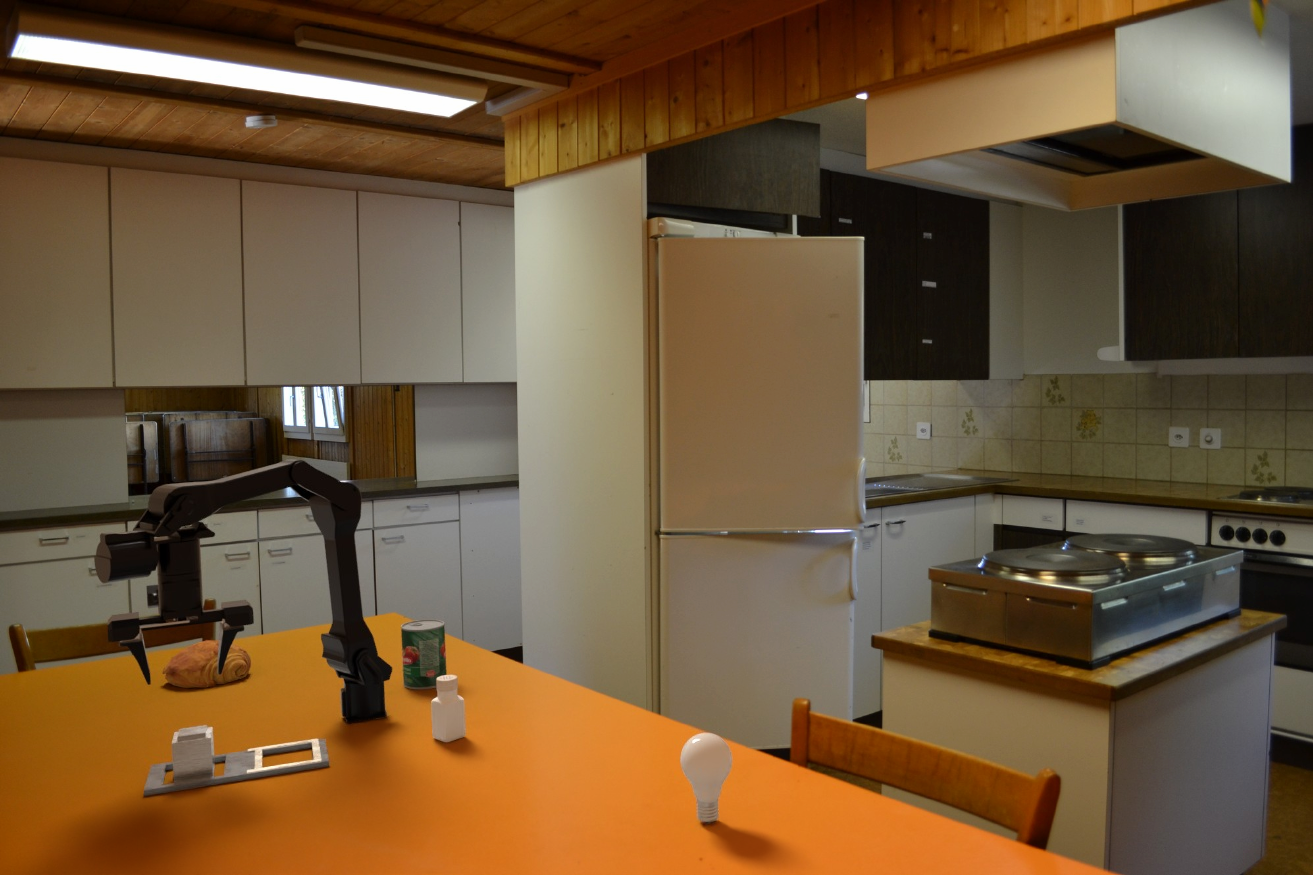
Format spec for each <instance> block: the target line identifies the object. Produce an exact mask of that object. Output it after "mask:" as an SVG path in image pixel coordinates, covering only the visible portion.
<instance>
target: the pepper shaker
mask: <svg viewBox="0 0 1313 875" xmlns="http://www.w3.org/2000/svg"><path fill="white" fill-rule="evenodd" d="M458 685H459V683H458V676H457V675H455V674H447V675H443V676H440V677H437V679H436V686H437V687H436V691H437V696H436V697H435V698H433V699H432V700H431V702H430V704H431V705H430V707H431V708H430V709H431V710H430V711H431V712H430V713H431V730H432V731H431V733H432V734H431V735H432V737H433V739H435V740H438V741H441V742H444V743H450V742H452V741H455V740H458V739H462V738H465V736H466V734H467V732H466V731H467V730H466V711H465V710H466V708H465V707H466V706H465V705H466V704H465V703H466V702H465V699H464V697H462V696H461V695H458V689H459V686H458Z"/></svg>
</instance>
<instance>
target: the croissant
mask: <svg viewBox="0 0 1313 875" xmlns="http://www.w3.org/2000/svg"><path fill="white" fill-rule="evenodd" d="M218 648H219V640H213V639H212V640H211V639H209V640H208V639H205V640H204V641H198V642H196V643H194V644H190V646H188V647H186V648H184V649H182V650H181V651H179V652H178V653H177V654H176V655H174V656H172V657H171V659H170V660H169V662H168V663H167V664H166V666H165V667H164V668H163V670H162V672H161V674H163V675H165V676H164V678H165V680H166V681H167V683H168V684H170V685H172V686H176V687H179V688H182V689H183V688H184V689H185V688H186V689H189V688H191V689H192V688H200V689H201V688H202V689H205V688H209V687H210V688H212V687H214V686H216V685H224V684H227V683H231V682H235V681H238V680H243V679H244V678H246V677H247V676H248V674H249V673H250V669H251V667H252V660H251V656H250V655H249V653H248V652H247V650H246V649H244V648H242V647H241V646H238V645H237V644H235V643H232V645H231V647H230V649H229V652H228V655H227V658H226V661H225V664H224V667H223V670H222V674H220V675H219V674H218V667H217V660H218Z"/></svg>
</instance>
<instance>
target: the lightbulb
mask: <svg viewBox="0 0 1313 875" xmlns="http://www.w3.org/2000/svg"><path fill="white" fill-rule="evenodd" d="M679 760H680V766H681V770H682V773H683V774H684V776H685V778H686V779H687V781H688V782H689V784H690V785H691V786H692V791H693V795H694V797H695V799H696V818H697V820H698V821H700V822H702V823H704V824H712V823H714V822H715V821H717V820H718V819H719V812H720V811H719V810H720V809H719V808H720V807H719V798H720V796H721V794H722V792H721V791H722V787H723V785H724V782H725V781H726V780H727V778H728V776H729V775H730V773H731V770H732V767H733V755H732V751H731V749H730V746H729V744H728V743H727V742H726V741H725V740H724V739H723V738H722V737H721V736H719V735H718V734H715V733H712V732H702V733H696V734H695V735H693V736H691V737H690V738H688V740H687V741H686V742H685V743H684V745H683V747H682V750H681V753H680V759H679Z"/></svg>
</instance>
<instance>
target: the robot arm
mask: <svg viewBox="0 0 1313 875" xmlns="http://www.w3.org/2000/svg"><path fill="white" fill-rule="evenodd" d="M287 488H290V489H291V490H292V491H293V492H294V493H295V494H297V496H299V497H300V498H302V499H303V500H305V501H307V502H308V504H309V507H310V510H311V514H312V518H313V521H314V522H315V524H316V526H317V528H318V529H319V531H320V533H321V535H322V537H323V542H324V551H325V560H326V561H325V562H326V569H327V571H326V572H327V578H328V579H327V580H328V589H329V595H330V596H329V598H330V606H331V616H332V617H331V618H332V623H331V627H330V628H329V631H328V632H324V633H321V635H320V640H321V644H322V655H321V658H323V659H325V660H326V663H327V665H328V666H329V667H331V668H332V669H333V670H334V671H335V673H336V674H335V675H336V677H337V678H339V679H343V687H342V688H340V691H339V692H340V710H341V711H340V712H341V716H342V717H343V718H345V721H346V724H350V723H351V724H352V723H357V722H364V721H365V722H366V721H370V720H372V721H373V720H378V719H385V718H387V717H388V713H387V710H386V700H385V699H386V696H385V694H386V692H385V682H388V681H390V679H391V677H392V671H393V666H391V665H390V664H389V663H388V662H386V661H385V660H384V659H383V658H381V656H380V655H379V653H378V649H377V645H376V642H375V637H374V635H373V633H372V631H371V630H370V628H369V626H368V624H367V623H366V621H365V618H364V615H363V605H362V604H363V603H362V594H361V586H360V585H361V583H360V576H359V575H360V574H359V565H358V557H357V556H358V555H357V554H358V553H357V546H356V545H357V544H356V535H355V534H356V531H357V528H358V526H359V524H360V520H361V517H362V501H363V498H362V493H361V489H360V488H359V487H357V486H356V485H355V484H353V483H352V482H349V481H341V480H339V479H338V478H336V477H335V476H331V475H330V474H327V473H326V472H324V471H321V470H319V469H317V468H315V467H314V466H312V464H310V463H308V462H306V461H305V460H304V459H303V460H302V459H294V458H293V459H290V458H289V459H283V460H282V461H280V462H278V463H274V464H271V465H267V466H263V467H259V468H255V469H251V470H248V471H244V472H241V473H237V474H233V475H230V476H225V477H222V478H217V479H214V480H208V481H207V480H206V481H193V482H179V483H169V484H168V483H167V484H162V485H159V486H157V487H156V488H155V489H154V490H153V491H152V493H151V495H149V499H148V503H147V506H148V507H147V508H146V509H145V511H144V512H143V514H142V516H140V518H139V520H138V521H137V523H136V524H135V526H134V527H133V528H132V530H131V531H122V532H121V531H120V532H113V531H111V532H102V533H100V534H99V540H100V541H99V543H98V544H97V547H96V550H95V555H94V557H93V558H94V567H95V568H94V569H95V572H96V575H97V578H98V580H99V581H100V583H102V584H108V583H115V582H122V581H128V580H136V579H141V578H148V577H149V576H150V575H151V574H152V572H155V571H157V572H156V573H157V584H150V585H146V604H147V606H146V608H147V609H153V608H155V609H156V608H158V614H159V615H156V616H147V617H146V616H145V617H140V614H139V613H140V612H138V611H137V612H126V613H118V614H112V615H111V616H110V617H109V618H107V627H106V628H107V641H108V643H117V642H118V646H119V647H122V648H124V647H126V648H127V649H128V650H129V651H130V653H131V654H132V656H133V658H134V659H135V661H136V662H137V664H138V666H139V668H140V671H141V673H142V675H143V677H144V680H145V682H146V684H147V686H149V685H150V686H151V684H152V680H151V678H152V677H151V670H150V665H149V661H148V656H147V649H146V646H145V641H144V636H143V632H147V631H155V630H164V629H171V628H178V627H186V626H187V627H188V626H195V625H202V624H211V623H218V622H219V638H218V641H219V648H218V660H217V667H218V674H219V675H220V674H222V670H223V667H224V664H225V661H226V658H227V655H228V652H229V649H230V647H231V645H232V644H234V640H235V638H236V637H237V634H238V633H240V632H245V626H250V625H253V624H255V621H254V620H255V619H254V608H253V605H252V604H251V603H250V602H249V601H247V600H246V599H240V600H233V601H223V602H221V604H220V605H221V606H220V607H221V608H214V609H207V610H206V609H205V610H204V597H203V596H204V595H203V576H202V575H203V574H202V556H201V555H202V554H201V540H202V539H207V538H208V539H209V538H215V536H216V532H215V531H213V530H211V529H210V528H209V527H207V526H206V525H205V524H204V522H202V521H203V520H204V519H207V518H208V517H211V516H212V515H214V514H215V513H217V512H218V511H219V510H221V509H223V508H225V507H227V506H229V505H232V504H236V503H240V502H243V501H247V500H250V499H255V498H256V497H260V496H263V495H267V494H270V493H274V492H278V491H280V490H284V489H287ZM182 527H183V528H182ZM169 620H170V621H169ZM172 620H173V621H172Z"/></svg>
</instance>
